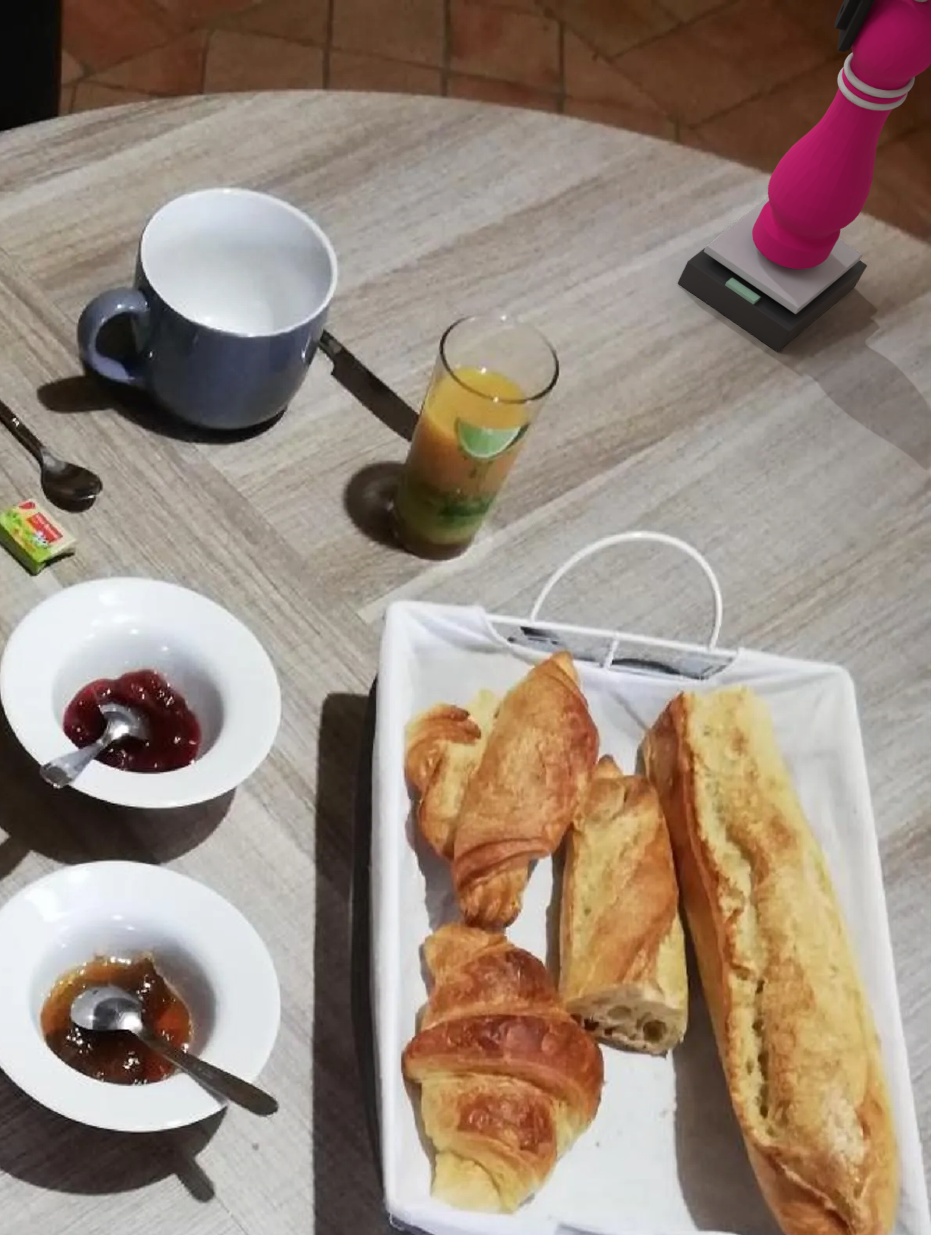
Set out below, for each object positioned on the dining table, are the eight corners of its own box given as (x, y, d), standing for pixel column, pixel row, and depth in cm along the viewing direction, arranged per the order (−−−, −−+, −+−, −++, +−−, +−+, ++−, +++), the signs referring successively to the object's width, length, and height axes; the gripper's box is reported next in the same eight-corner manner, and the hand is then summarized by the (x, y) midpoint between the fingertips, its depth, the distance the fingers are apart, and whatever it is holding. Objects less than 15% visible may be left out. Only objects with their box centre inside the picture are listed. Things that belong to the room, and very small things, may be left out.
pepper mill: (782, 196, 131) (919, -76, 112) (854, 247, 129) (1005, -21, 110) (726, 236, 128) (857, -35, 110) (798, 288, 127) (943, 21, 108)
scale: (854, 286, 133) (875, 251, 130) (777, 352, 129) (797, 317, 127) (755, 220, 135) (773, 184, 132) (677, 283, 132) (693, 247, 129)
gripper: (904, -251, 97) (764, 56, 114) (1193, -186, 97) (1010, 113, 113) (911, -319, 100) (773, -10, 117) (1192, -256, 100) (1014, 46, 116)
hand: (891, 48), depth 115 cm, fingers closed on pepper mill, 6 cm apart
